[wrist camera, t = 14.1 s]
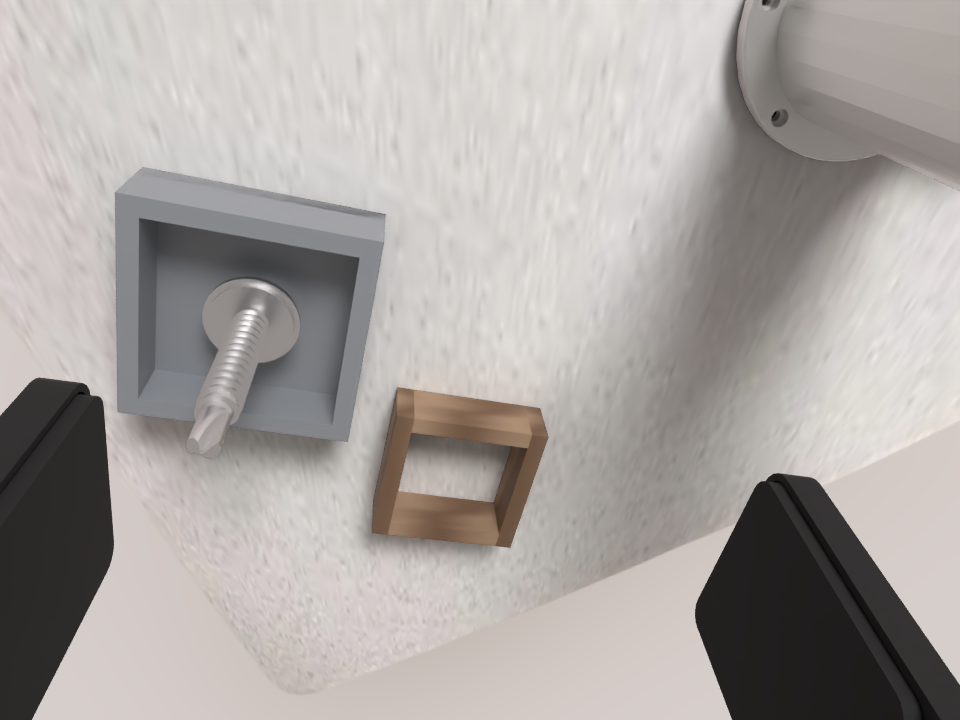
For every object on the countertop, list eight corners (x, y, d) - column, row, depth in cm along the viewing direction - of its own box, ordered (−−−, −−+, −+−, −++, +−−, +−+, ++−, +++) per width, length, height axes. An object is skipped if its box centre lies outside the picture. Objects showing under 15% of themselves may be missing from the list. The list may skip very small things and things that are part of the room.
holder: (539, 408, 45) (548, 437, 42) (504, 515, 49) (510, 547, 47) (397, 387, 43) (397, 416, 41) (373, 500, 47) (371, 532, 45)
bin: (385, 214, 38) (383, 242, 34) (352, 402, 43) (347, 442, 40) (142, 167, 35) (115, 192, 32) (141, 372, 41) (117, 412, 38)
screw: (194, 280, 37) (279, 249, 37) (239, 355, 40) (319, 326, 40) (106, 426, 26) (227, 384, 26) (176, 517, 29) (288, 480, 28)
